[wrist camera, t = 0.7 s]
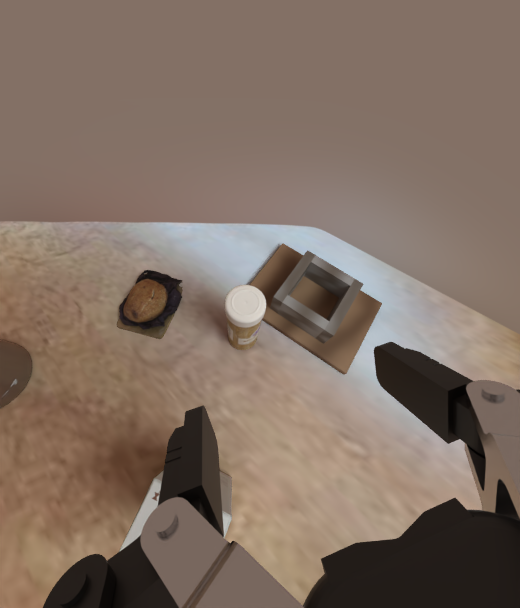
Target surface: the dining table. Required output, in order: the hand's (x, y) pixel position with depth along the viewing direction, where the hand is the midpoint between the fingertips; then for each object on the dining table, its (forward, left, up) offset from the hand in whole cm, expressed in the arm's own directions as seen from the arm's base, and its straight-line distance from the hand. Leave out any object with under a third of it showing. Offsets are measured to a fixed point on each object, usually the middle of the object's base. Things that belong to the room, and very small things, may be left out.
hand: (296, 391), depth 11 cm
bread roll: (-22, +3, -28) cm, 35 cm away
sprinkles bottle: (-7, +7, -27) cm, 29 cm away
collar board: (-1, +18, -27) cm, 32 cm away
